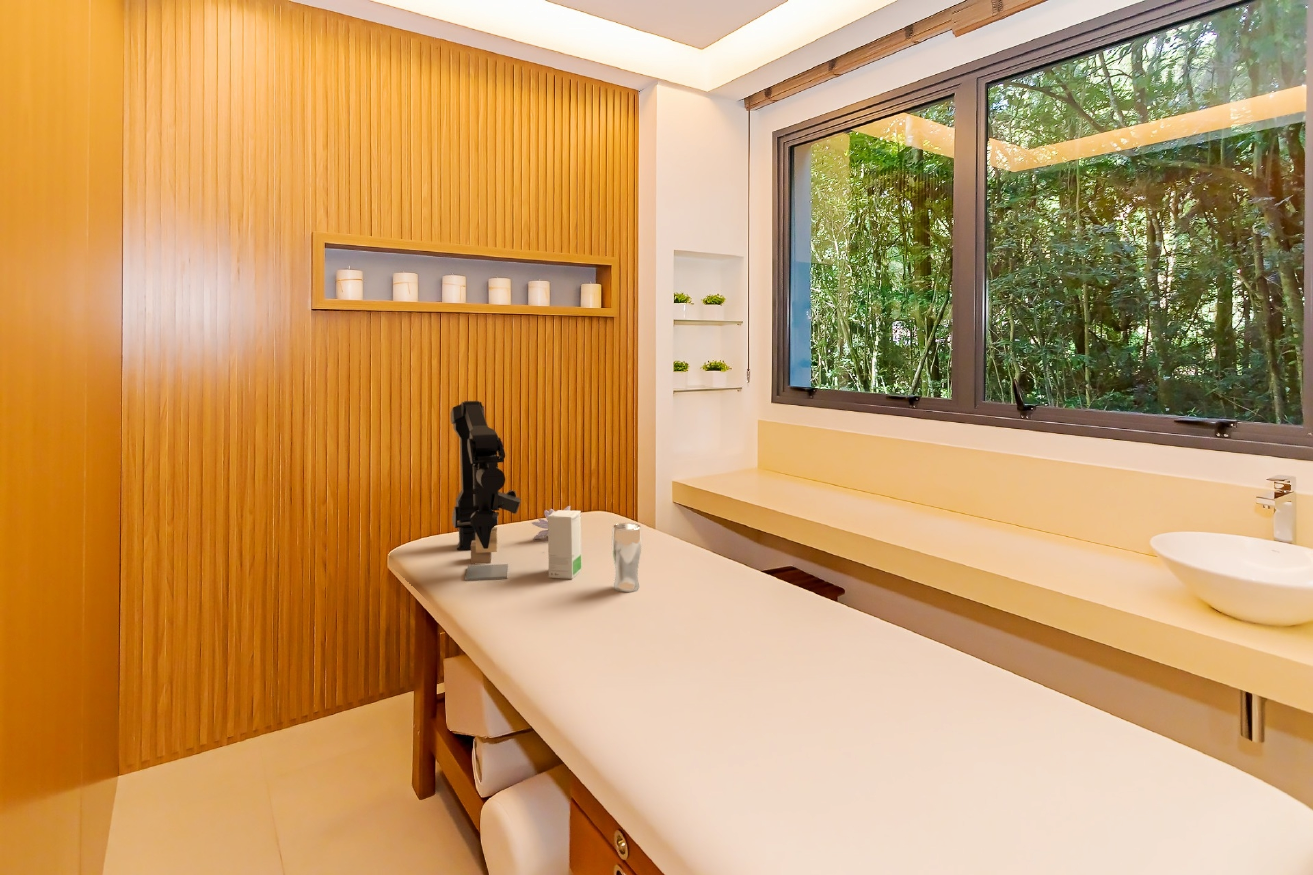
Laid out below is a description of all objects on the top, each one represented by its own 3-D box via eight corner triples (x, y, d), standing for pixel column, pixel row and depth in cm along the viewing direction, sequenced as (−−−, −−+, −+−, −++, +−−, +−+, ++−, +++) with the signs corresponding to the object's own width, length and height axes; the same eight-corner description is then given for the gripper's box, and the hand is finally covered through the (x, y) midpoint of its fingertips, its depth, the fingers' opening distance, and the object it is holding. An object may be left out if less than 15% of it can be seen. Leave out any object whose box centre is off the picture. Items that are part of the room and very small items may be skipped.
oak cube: (477, 546, 183) (476, 527, 182) (497, 546, 184) (497, 526, 183) (475, 552, 178) (475, 532, 177) (496, 551, 179) (496, 532, 178)
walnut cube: (472, 558, 194) (471, 540, 193) (491, 557, 195) (491, 539, 194) (471, 564, 189) (470, 545, 188) (490, 563, 190) (490, 544, 189)
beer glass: (611, 583, 175) (611, 522, 173) (640, 582, 175) (640, 522, 173) (612, 593, 168) (612, 530, 166) (642, 592, 169) (642, 529, 167)
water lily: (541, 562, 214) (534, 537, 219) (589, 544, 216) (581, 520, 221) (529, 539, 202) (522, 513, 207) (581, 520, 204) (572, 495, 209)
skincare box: (572, 579, 177) (571, 517, 175) (546, 577, 178) (545, 516, 176) (582, 569, 185) (582, 509, 183) (557, 567, 186) (557, 508, 184)
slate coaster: (468, 568, 185) (467, 565, 185) (507, 566, 187) (507, 564, 187) (464, 580, 176) (464, 578, 176) (507, 578, 177) (506, 576, 177)
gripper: (518, 490, 171) (519, 555, 173) (518, 476, 189) (519, 534, 191) (469, 492, 169) (471, 556, 171) (474, 477, 187) (476, 535, 189)
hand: (486, 545), depth 181 cm, fingers closed on oak cube, 5 cm apart
